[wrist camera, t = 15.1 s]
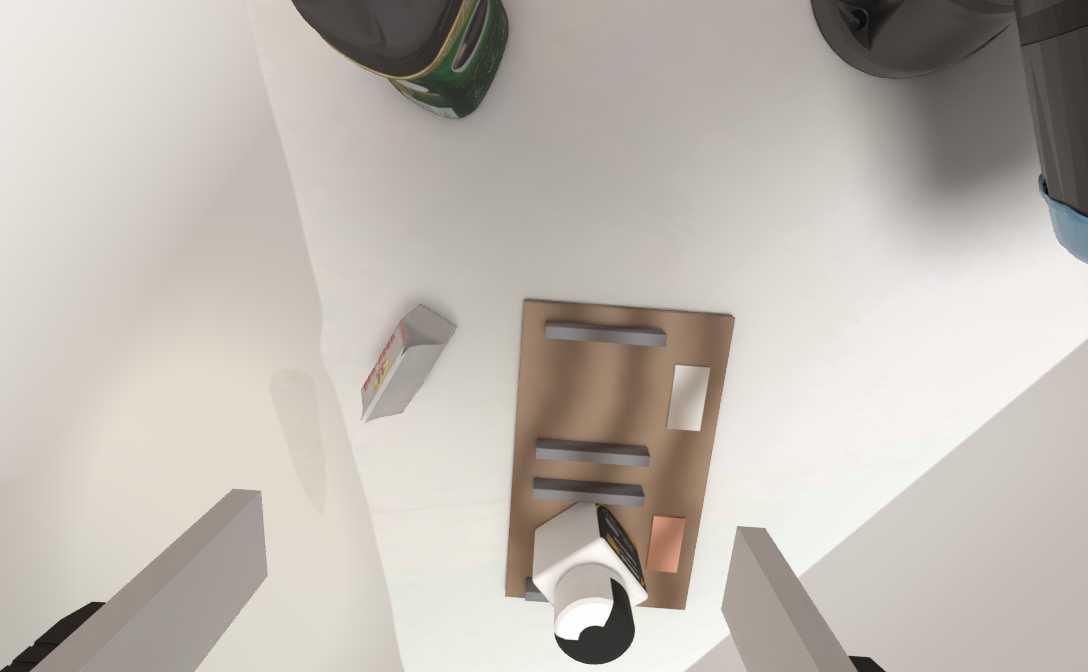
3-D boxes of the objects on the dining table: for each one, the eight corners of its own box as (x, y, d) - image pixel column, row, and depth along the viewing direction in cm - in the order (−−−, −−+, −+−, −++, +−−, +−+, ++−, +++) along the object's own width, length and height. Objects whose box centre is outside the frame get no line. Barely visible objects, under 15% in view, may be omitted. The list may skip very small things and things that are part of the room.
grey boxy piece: (457, 326, 45) (431, 360, 36) (420, 387, 47) (385, 435, 37) (420, 304, 45) (384, 332, 35) (384, 366, 46) (340, 409, 37)
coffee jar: (427, -39, 38) (316, -251, 20) (523, 13, 39) (497, -146, 21) (379, 88, 41) (241, -1, 23) (471, 135, 41) (407, 85, 23)
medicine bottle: (636, 544, 49) (662, 649, 38) (576, 580, 51) (583, 692, 39) (595, 490, 48) (608, 582, 36) (533, 528, 49) (527, 629, 38)
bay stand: (731, 315, 45) (743, 323, 42) (682, 602, 52) (689, 625, 49) (524, 299, 45) (522, 306, 42) (506, 589, 52) (503, 611, 49)
